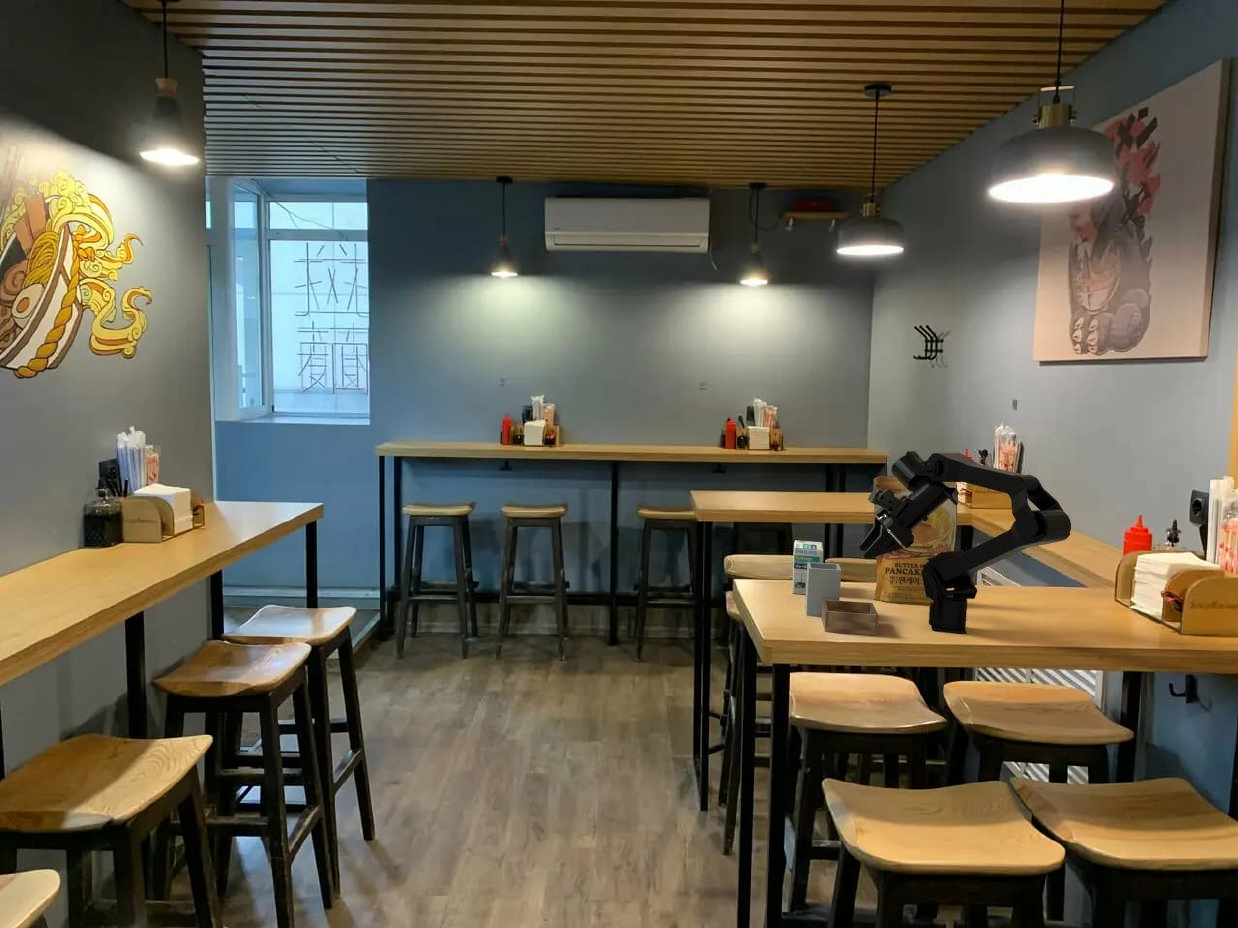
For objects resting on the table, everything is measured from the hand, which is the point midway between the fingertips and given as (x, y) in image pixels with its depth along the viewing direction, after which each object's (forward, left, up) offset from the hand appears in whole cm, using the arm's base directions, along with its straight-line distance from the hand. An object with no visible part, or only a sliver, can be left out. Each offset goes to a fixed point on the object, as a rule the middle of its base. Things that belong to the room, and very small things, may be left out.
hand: (862, 553), depth 186 cm
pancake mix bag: (-10, -18, -13) cm, 25 cm away
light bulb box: (+13, -19, -13) cm, 26 cm away
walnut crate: (+2, +10, -13) cm, 17 cm away
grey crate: (+8, +1, -13) cm, 15 cm away
